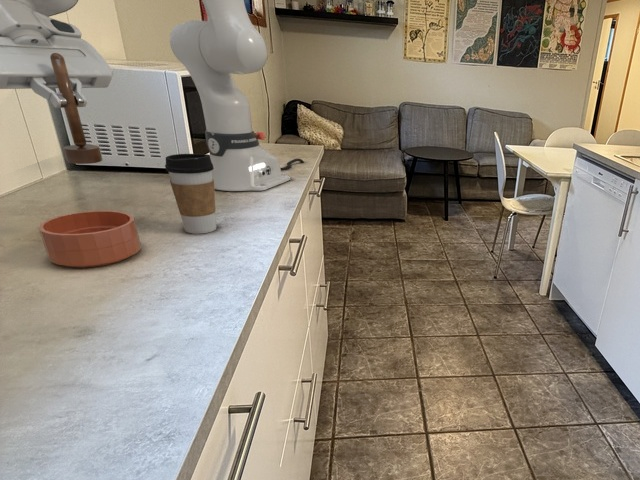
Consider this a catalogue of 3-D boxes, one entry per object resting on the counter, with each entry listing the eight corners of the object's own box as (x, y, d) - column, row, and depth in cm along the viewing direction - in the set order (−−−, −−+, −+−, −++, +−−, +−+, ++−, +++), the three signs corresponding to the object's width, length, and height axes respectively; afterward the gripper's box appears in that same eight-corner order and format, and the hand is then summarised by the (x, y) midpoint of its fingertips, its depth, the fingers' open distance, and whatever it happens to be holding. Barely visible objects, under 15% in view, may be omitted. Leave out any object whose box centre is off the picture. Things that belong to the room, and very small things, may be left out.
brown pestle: (90, 156, 87) (63, 52, 79) (109, 161, 85) (82, 54, 78) (60, 160, 83) (27, 50, 75) (78, 165, 81) (47, 53, 73)
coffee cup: (205, 238, 93) (192, 161, 87) (168, 232, 95) (151, 156, 88) (231, 225, 101) (221, 153, 94) (196, 220, 102) (183, 149, 95)
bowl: (110, 236, 91) (102, 206, 88) (158, 250, 86) (151, 219, 84) (32, 258, 80) (20, 224, 77) (82, 276, 75) (71, 240, 73)
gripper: (-62, 13, 68) (1, 93, 69) (86, 27, 85) (135, 90, 86) (-65, 46, 72) (-5, 121, 73) (77, 53, 89) (124, 114, 90)
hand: (72, 105), depth 80 cm, fingers closed on brown pestle
